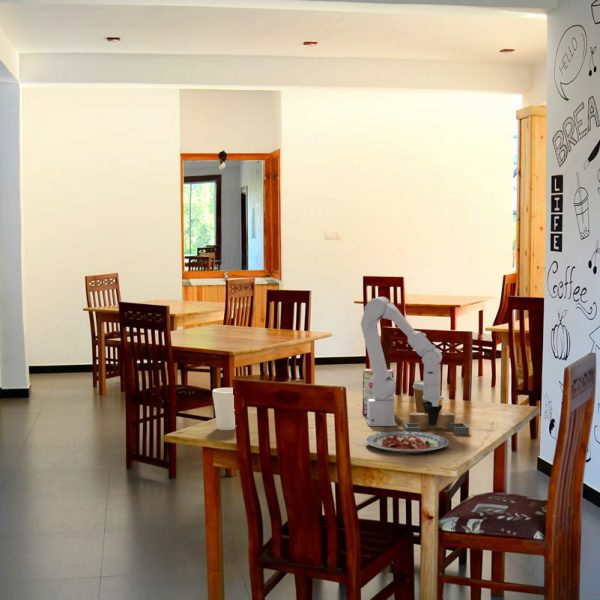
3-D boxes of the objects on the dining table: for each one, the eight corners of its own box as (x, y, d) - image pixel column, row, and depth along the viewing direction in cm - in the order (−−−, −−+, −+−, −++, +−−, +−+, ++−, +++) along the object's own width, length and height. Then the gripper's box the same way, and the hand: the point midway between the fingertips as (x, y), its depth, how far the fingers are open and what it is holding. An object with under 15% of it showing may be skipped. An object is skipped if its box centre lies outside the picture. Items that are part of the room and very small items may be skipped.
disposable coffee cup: (437, 413, 340) (438, 380, 339) (439, 418, 330) (439, 385, 329) (411, 412, 341) (412, 380, 340) (412, 417, 331) (412, 384, 330)
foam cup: (215, 424, 318) (215, 387, 317) (241, 425, 318) (241, 387, 317) (211, 430, 309) (210, 392, 308) (238, 431, 308) (238, 392, 307)
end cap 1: (406, 435, 303) (406, 427, 302) (403, 430, 310) (403, 423, 310) (420, 435, 303) (421, 427, 302) (417, 430, 310) (417, 423, 310)
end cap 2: (454, 435, 303) (454, 427, 303) (449, 430, 310) (450, 423, 310) (468, 435, 303) (468, 427, 303) (464, 430, 310) (464, 422, 310)
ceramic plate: (354, 453, 279) (355, 443, 279) (377, 435, 304) (377, 426, 303) (439, 460, 271) (439, 450, 270) (455, 441, 295) (455, 432, 295)
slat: (410, 429, 312) (410, 415, 312) (408, 427, 316) (408, 412, 316) (454, 429, 313) (454, 414, 312) (452, 427, 316) (452, 412, 316)
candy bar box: (362, 415, 335) (362, 370, 334) (363, 412, 340) (363, 368, 339) (393, 416, 333) (393, 371, 332) (394, 413, 338) (394, 369, 337)
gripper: (447, 387, 306) (447, 428, 307) (439, 380, 321) (439, 419, 322) (426, 387, 306) (426, 428, 307) (419, 380, 320) (419, 419, 321)
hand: (431, 423), depth 314 cm, fingers open, 5 cm apart
